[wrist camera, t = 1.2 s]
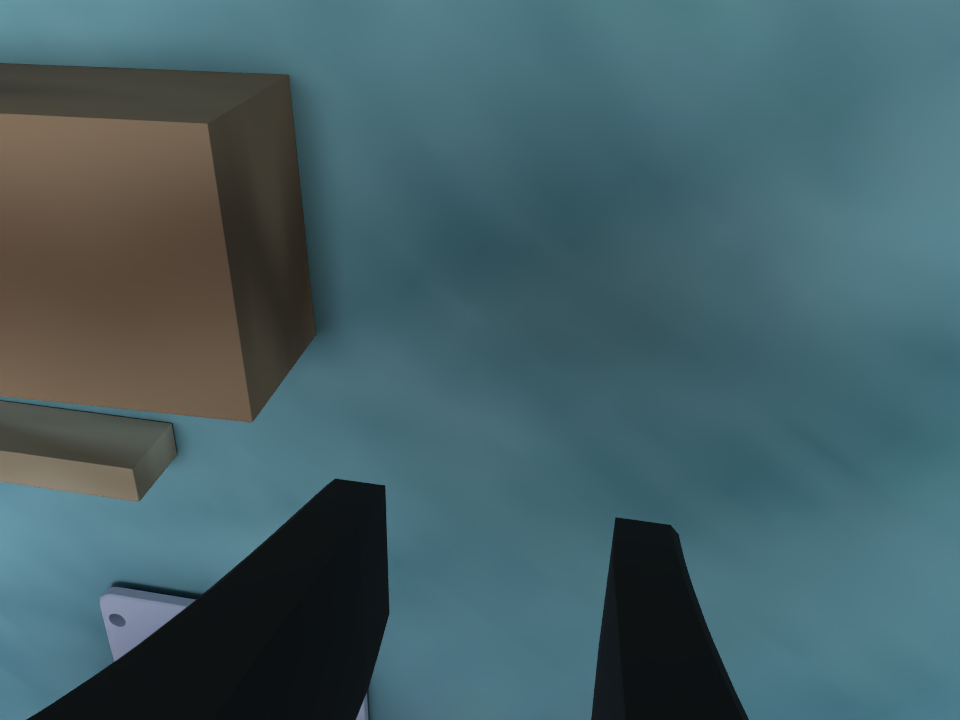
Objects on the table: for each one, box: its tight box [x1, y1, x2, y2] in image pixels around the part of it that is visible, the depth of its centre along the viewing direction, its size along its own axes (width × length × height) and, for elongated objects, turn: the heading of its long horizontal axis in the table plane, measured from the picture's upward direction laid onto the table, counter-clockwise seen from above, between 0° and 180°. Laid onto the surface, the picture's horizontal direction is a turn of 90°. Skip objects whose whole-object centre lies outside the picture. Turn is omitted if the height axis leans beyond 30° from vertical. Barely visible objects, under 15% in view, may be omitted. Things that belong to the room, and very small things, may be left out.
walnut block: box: [0, 63, 316, 422], centre depth 19 cm, size 6×7×4 cm
